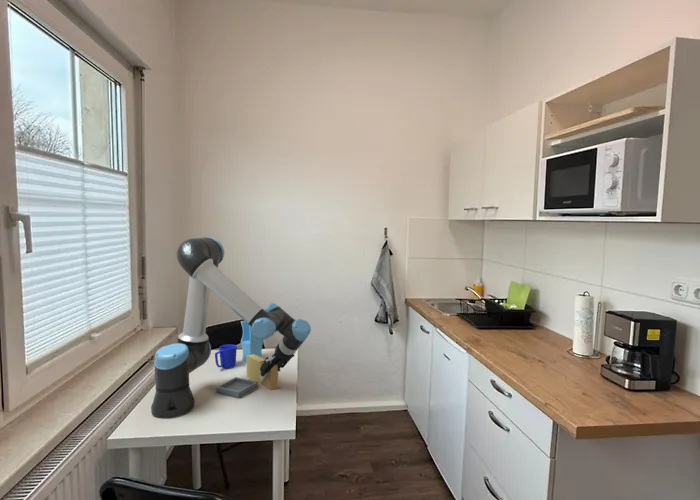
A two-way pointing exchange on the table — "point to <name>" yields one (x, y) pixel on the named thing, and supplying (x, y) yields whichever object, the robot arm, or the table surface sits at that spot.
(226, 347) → the mug
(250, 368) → the grey-ended yellow block
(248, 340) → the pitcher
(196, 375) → the table surface
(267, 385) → the stub
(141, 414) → the table surface
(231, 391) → the tray
